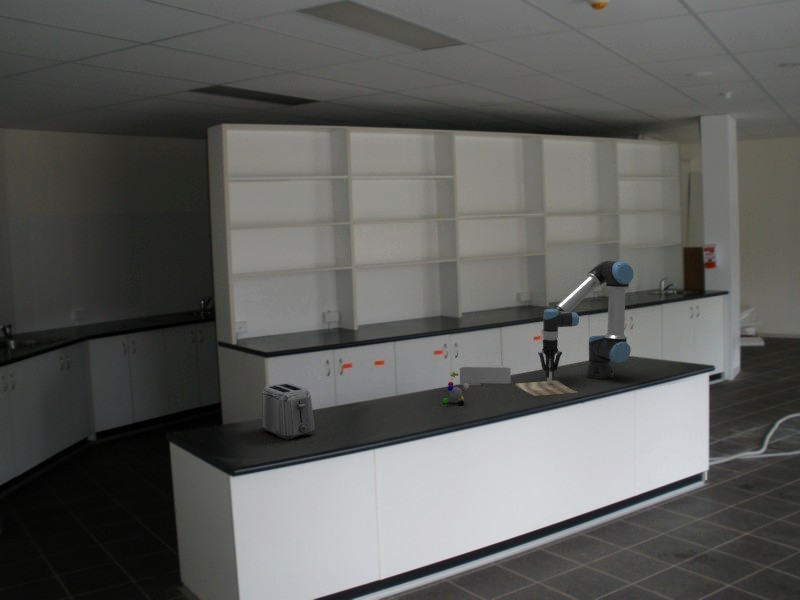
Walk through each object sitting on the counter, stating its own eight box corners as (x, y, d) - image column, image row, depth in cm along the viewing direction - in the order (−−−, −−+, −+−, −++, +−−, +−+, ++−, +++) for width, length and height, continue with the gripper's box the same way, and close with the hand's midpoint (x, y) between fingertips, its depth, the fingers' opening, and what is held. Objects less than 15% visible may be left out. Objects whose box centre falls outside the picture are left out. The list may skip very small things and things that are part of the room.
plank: (557, 382, 406) (557, 380, 406) (569, 390, 393) (569, 388, 393) (515, 385, 400) (515, 383, 400) (525, 393, 387) (526, 391, 387)
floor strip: (569, 390, 393) (569, 388, 392) (578, 394, 383) (578, 392, 383) (526, 393, 387) (526, 391, 387) (534, 398, 377) (534, 395, 377)
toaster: (285, 443, 308) (283, 396, 306) (253, 428, 332) (252, 384, 330) (321, 435, 317) (320, 390, 315) (288, 421, 341) (286, 379, 339)
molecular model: (472, 402, 372) (472, 382, 371) (459, 407, 361) (459, 387, 360) (452, 399, 378) (452, 380, 377) (439, 404, 368) (438, 384, 367)
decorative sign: (510, 384, 410) (510, 366, 409) (510, 386, 407) (510, 367, 406) (450, 383, 415) (450, 365, 414) (450, 385, 411) (449, 367, 410)
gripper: (558, 337, 403) (557, 381, 405) (535, 338, 400) (534, 382, 402) (565, 339, 396) (564, 384, 398) (541, 340, 393) (540, 385, 395)
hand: (549, 383), depth 400 cm, fingers closed
